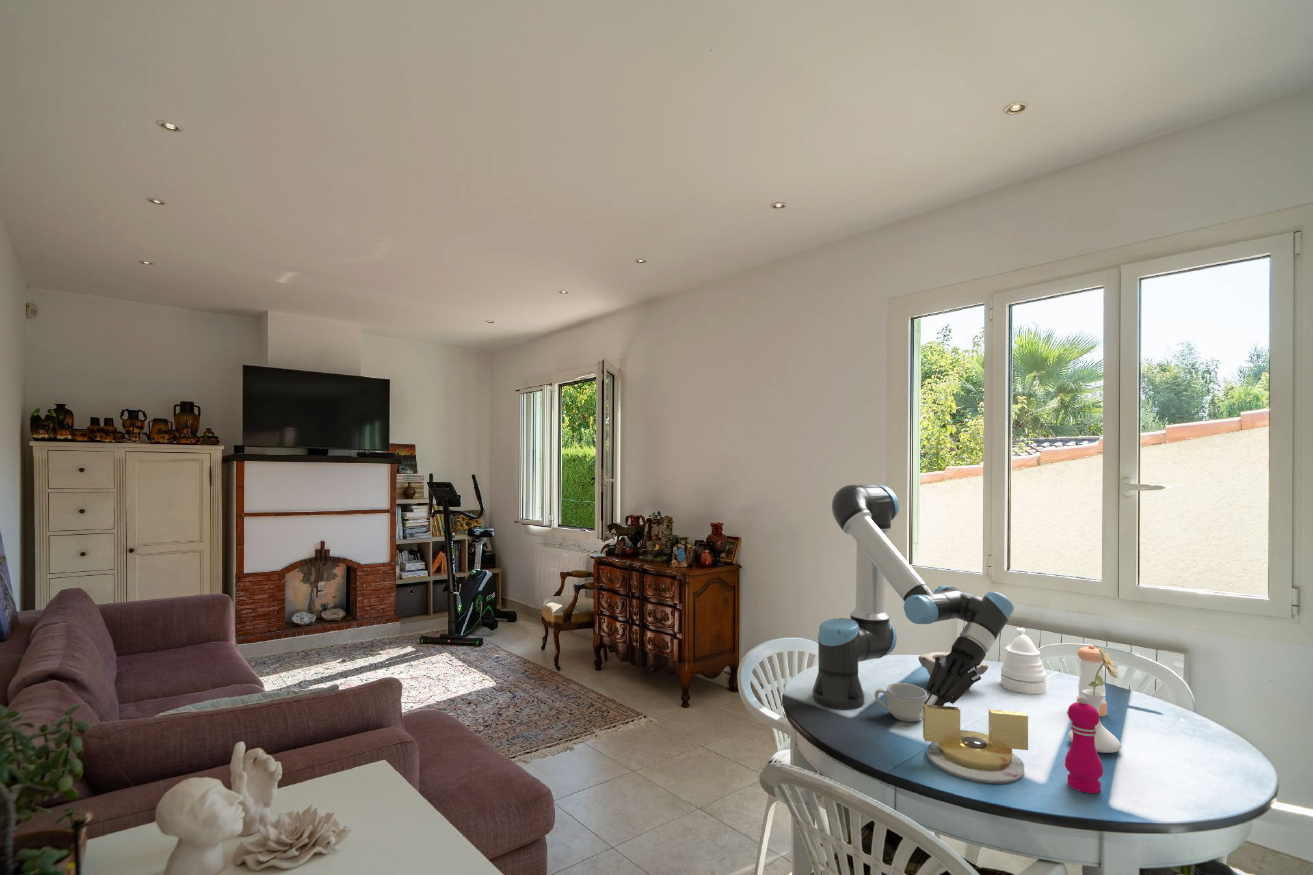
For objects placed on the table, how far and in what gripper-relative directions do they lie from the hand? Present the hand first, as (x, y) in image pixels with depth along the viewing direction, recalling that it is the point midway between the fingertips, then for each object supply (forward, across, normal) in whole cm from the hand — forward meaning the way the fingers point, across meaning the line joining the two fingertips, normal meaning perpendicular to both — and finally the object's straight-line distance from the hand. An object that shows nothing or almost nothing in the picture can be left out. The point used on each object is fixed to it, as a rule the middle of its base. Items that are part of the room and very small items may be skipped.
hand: (923, 719), depth 166 cm
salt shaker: (-42, +2, -54) cm, 68 cm away
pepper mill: (-9, -26, -21) cm, 35 cm away
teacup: (-3, +21, -15) cm, 26 cm away
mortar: (-27, +34, -39) cm, 58 cm away
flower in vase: (-25, -14, -38) cm, 47 cm away
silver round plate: (0, -8, -12) cm, 14 cm away
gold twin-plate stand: (-1, -8, -10) cm, 13 cm away
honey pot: (-42, +25, -55) cm, 74 cm away
